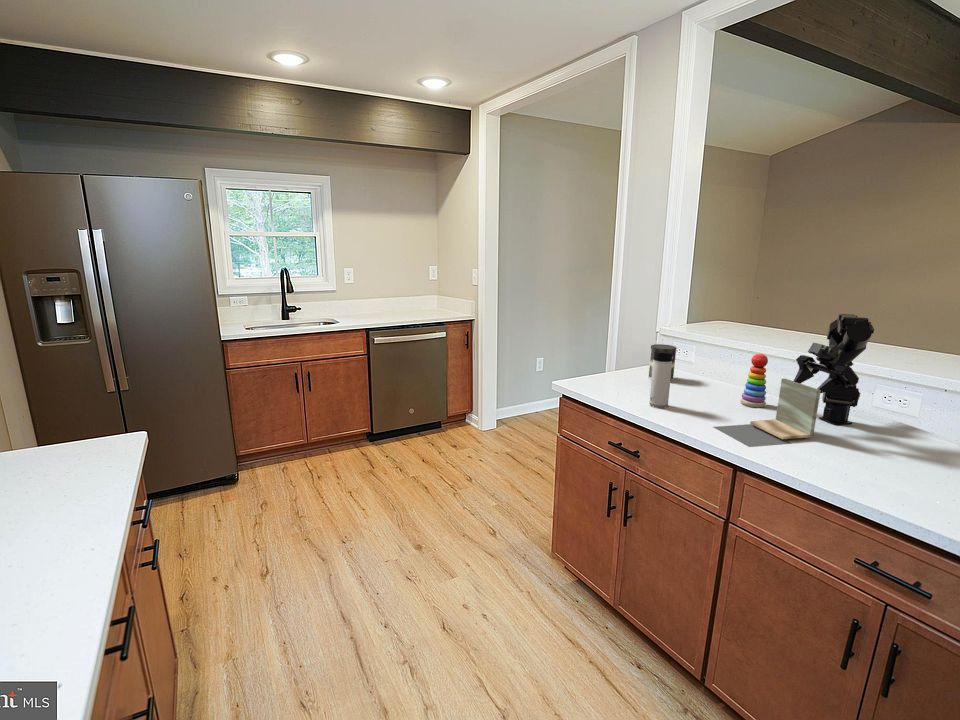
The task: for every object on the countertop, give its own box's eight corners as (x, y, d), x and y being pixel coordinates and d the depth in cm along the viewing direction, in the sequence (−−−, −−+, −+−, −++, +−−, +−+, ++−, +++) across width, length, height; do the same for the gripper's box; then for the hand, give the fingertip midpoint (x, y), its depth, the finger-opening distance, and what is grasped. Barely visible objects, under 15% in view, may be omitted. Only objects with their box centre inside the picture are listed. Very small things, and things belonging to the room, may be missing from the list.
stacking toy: (763, 409, 169) (771, 357, 165) (738, 405, 174) (744, 354, 170) (766, 404, 175) (774, 353, 171) (742, 400, 180) (748, 350, 176)
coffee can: (675, 382, 204) (679, 349, 201) (650, 381, 206) (653, 348, 202) (670, 376, 214) (673, 344, 211) (646, 375, 216) (648, 343, 212)
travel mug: (648, 407, 172) (653, 351, 167) (649, 402, 178) (654, 348, 173) (667, 409, 169) (672, 353, 165) (668, 404, 175) (673, 349, 171)
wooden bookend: (778, 423, 155) (785, 378, 151) (812, 439, 142) (820, 390, 139) (749, 425, 153) (756, 380, 150) (782, 441, 140) (789, 392, 137)
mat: (751, 424, 155) (752, 424, 155) (792, 444, 139) (792, 443, 139) (712, 427, 152) (712, 426, 152) (749, 447, 137) (749, 446, 137)
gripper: (806, 329, 153) (768, 363, 154) (857, 339, 135) (813, 377, 136) (825, 354, 155) (787, 387, 156) (877, 367, 137) (834, 405, 138)
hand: (804, 388), depth 147 cm, fingers open, 9 cm apart
